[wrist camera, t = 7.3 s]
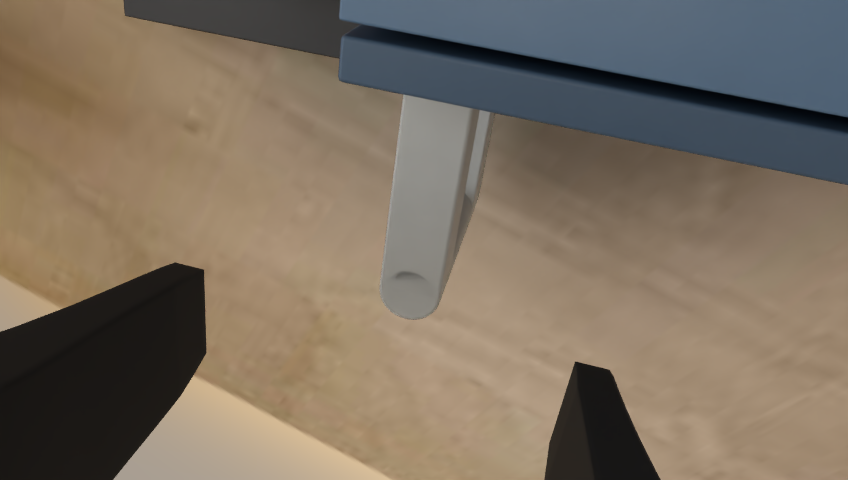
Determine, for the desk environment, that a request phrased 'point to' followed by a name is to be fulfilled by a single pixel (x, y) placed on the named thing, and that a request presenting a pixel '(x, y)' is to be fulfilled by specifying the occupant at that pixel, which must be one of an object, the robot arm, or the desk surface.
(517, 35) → the blue-grey cabinet box
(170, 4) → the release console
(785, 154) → the cabinet door
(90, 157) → the desk surface
